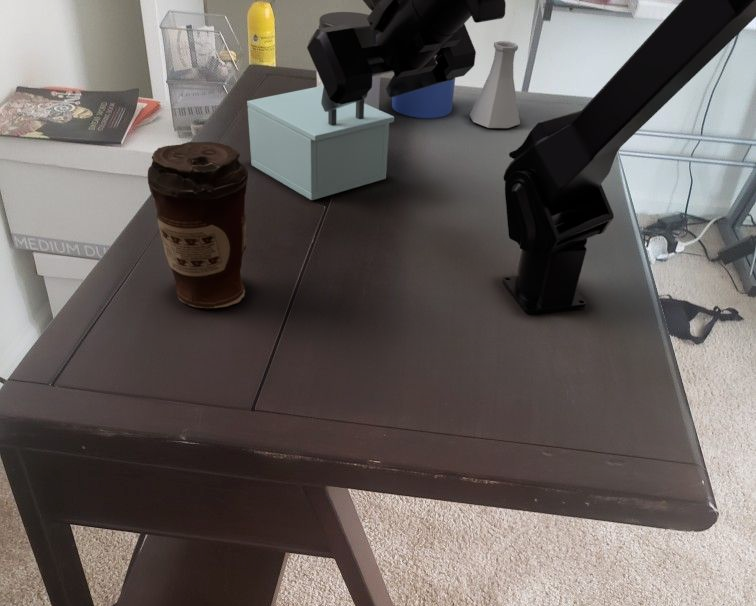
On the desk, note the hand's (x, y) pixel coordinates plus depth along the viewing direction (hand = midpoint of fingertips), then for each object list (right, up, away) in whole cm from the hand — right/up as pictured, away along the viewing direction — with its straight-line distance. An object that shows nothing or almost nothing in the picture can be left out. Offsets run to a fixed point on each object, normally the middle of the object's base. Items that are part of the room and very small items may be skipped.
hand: (357, 100), depth 82 cm
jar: (-2, +12, +26) cm, 29 cm away
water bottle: (+9, +15, +30) cm, 35 cm away
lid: (-5, +1, +6) cm, 7 cm away
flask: (+19, +11, +27) cm, 35 cm away
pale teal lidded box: (-5, -3, +11) cm, 12 cm away
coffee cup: (-14, -25, -11) cm, 30 cm away
